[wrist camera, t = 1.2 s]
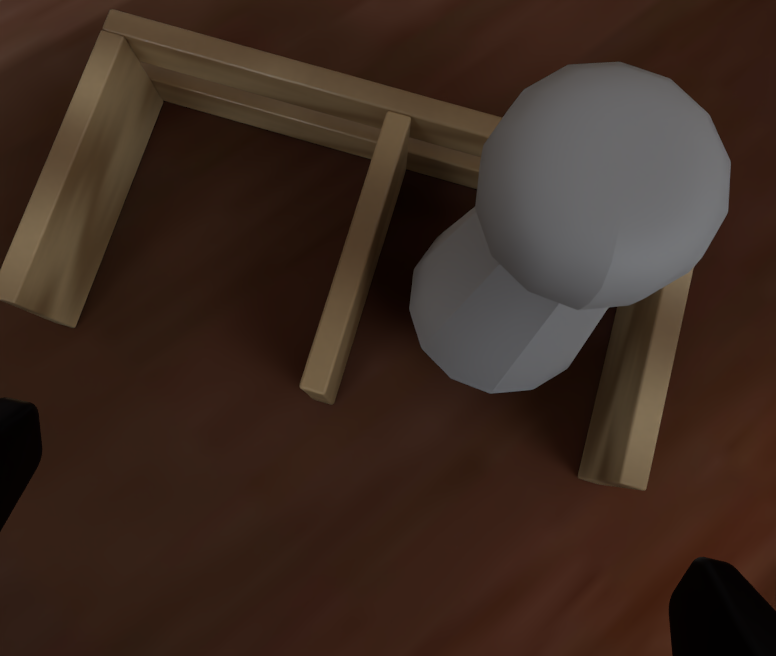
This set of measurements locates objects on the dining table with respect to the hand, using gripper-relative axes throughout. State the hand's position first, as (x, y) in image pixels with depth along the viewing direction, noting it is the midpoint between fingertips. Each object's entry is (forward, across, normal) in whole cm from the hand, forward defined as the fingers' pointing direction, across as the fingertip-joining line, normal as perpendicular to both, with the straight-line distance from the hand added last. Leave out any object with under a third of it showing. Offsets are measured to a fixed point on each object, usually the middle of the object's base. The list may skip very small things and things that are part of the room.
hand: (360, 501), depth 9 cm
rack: (+15, +2, +4) cm, 15 cm away
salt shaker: (+14, -3, +5) cm, 15 cm away
